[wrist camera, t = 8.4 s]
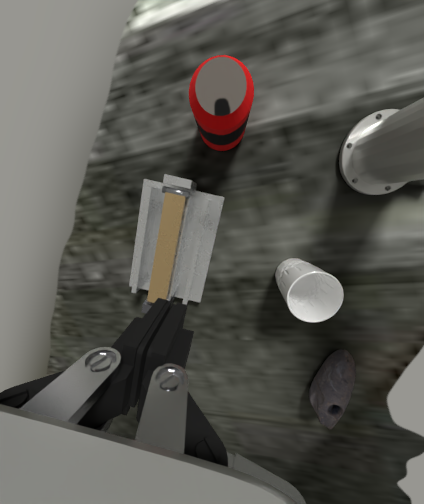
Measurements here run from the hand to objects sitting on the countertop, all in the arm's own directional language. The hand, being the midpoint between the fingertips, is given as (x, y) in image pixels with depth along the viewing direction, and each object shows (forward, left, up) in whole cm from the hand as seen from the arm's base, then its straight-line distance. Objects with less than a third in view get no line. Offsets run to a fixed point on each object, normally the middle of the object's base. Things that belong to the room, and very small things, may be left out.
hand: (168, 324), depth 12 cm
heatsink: (+6, +2, -28) cm, 29 cm away
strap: (+6, +2, -21) cm, 22 cm away
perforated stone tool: (-30, +22, -28) cm, 47 cm away
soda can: (+2, -19, -28) cm, 34 cm away
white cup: (-17, +3, -28) cm, 33 cm away
